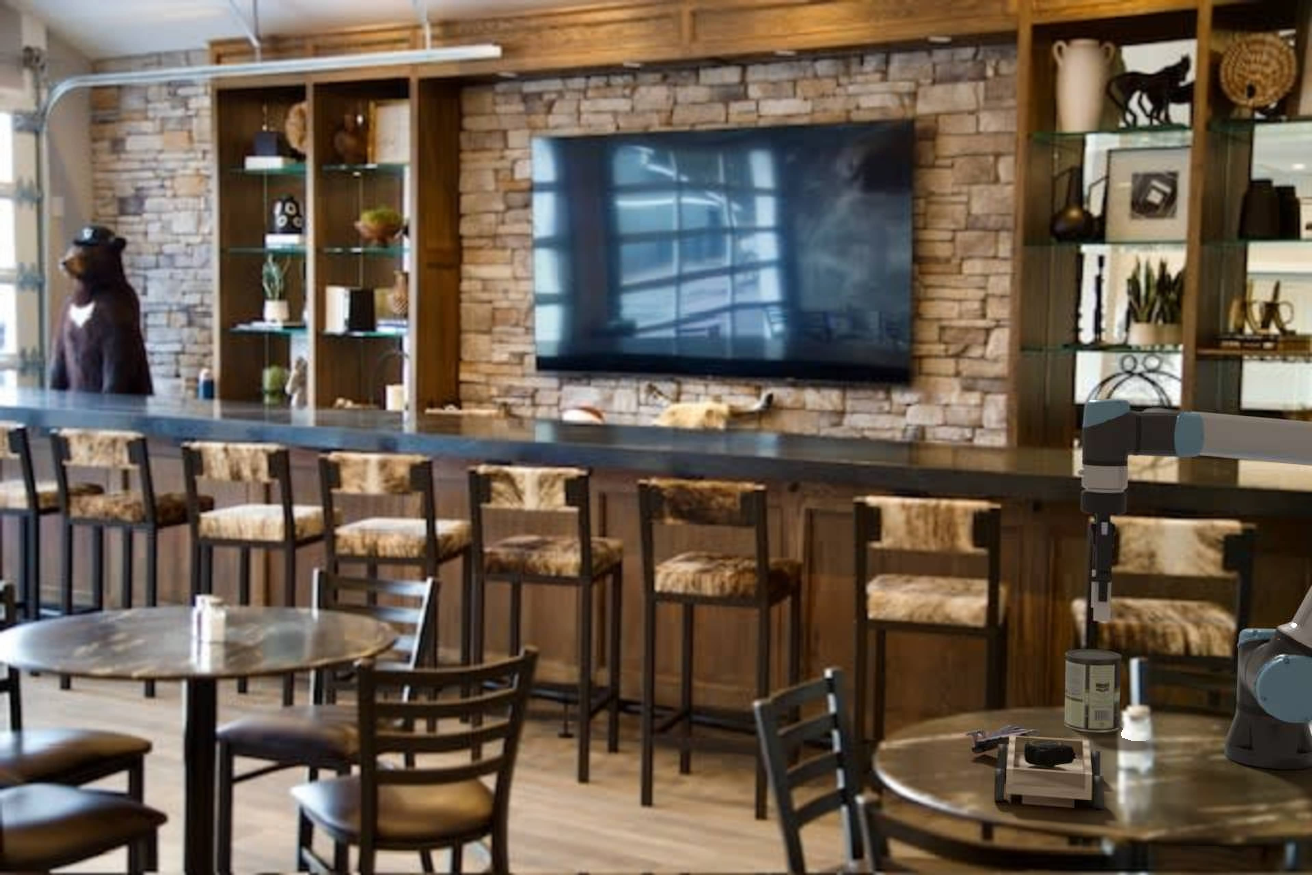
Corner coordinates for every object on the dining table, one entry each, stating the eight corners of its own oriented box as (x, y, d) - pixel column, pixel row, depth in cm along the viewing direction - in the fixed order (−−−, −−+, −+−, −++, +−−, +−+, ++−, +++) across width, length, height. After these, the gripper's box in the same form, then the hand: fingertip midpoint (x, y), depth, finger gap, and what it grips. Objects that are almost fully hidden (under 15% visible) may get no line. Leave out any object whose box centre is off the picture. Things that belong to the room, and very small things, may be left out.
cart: (998, 768, 277) (998, 734, 277) (1098, 775, 273) (1099, 740, 273) (993, 804, 256) (994, 767, 255) (1103, 813, 252) (1104, 775, 251)
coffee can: (1089, 718, 314) (1091, 646, 313) (1131, 730, 306) (1133, 656, 305) (1051, 725, 309) (1053, 651, 308) (1092, 736, 300) (1094, 661, 299)
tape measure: (1041, 771, 260) (1041, 748, 260) (1015, 763, 266) (1015, 741, 266) (1076, 767, 263) (1075, 744, 263) (1050, 760, 269) (1050, 738, 269)
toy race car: (1045, 735, 278) (1039, 711, 280) (1024, 735, 275) (1018, 712, 276) (987, 753, 288) (981, 730, 289) (966, 754, 284) (961, 731, 286)
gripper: (1079, 482, 288) (1076, 601, 289) (1082, 496, 264) (1079, 625, 265) (1123, 484, 286) (1120, 603, 288) (1130, 497, 262) (1126, 627, 263)
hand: (1100, 614), depth 276 cm, fingers open, 13 cm apart
